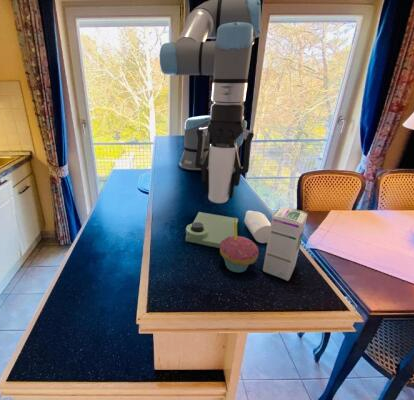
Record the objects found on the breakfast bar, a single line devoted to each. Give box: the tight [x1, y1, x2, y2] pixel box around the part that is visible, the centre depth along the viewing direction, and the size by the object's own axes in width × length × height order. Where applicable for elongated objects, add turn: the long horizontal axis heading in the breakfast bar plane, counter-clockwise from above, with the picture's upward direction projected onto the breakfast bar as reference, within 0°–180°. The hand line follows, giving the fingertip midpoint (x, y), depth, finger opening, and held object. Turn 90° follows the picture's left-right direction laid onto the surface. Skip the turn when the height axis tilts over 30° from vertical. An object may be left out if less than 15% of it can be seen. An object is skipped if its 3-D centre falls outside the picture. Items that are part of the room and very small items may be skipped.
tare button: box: [191, 222, 203, 232], centre depth 71 cm, size 3×3×2 cm
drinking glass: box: [207, 143, 238, 204], centre depth 68 cm, size 7×7×15 cm
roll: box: [243, 210, 271, 244], centre depth 74 cm, size 6×12×6 cm, turn 2°
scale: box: [184, 211, 239, 249], centre depth 74 cm, size 15×12×3 cm
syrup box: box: [262, 205, 308, 282], centre depth 57 cm, size 6×6×14 cm
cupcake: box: [219, 217, 259, 273], centre depth 59 cm, size 9×8×12 cm
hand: (218, 194), depth 71 cm, fingers closed on drinking glass, 6 cm apart
